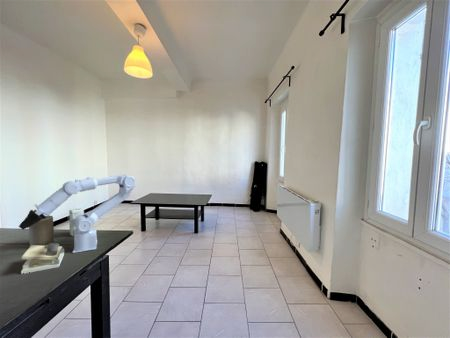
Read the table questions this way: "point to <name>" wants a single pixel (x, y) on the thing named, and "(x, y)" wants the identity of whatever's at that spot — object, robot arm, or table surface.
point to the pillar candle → (42, 232)
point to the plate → (43, 252)
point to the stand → (41, 264)
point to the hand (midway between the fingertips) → (23, 227)
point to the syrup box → (73, 215)
